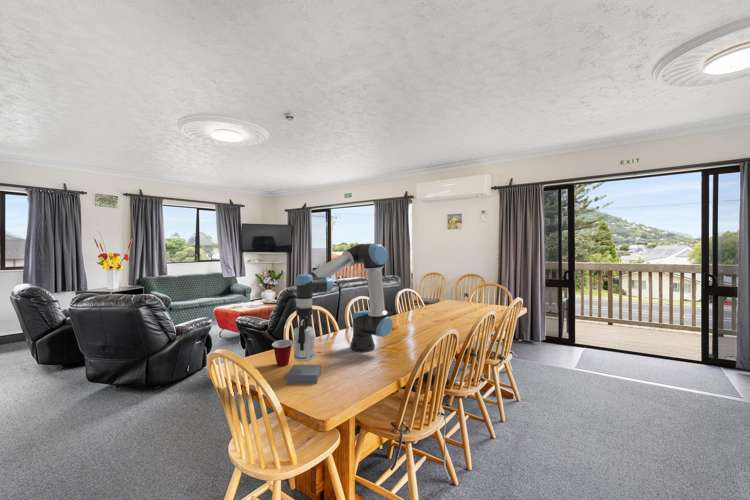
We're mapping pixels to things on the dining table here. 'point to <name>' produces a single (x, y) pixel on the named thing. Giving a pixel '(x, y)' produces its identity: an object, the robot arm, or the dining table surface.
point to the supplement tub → (308, 344)
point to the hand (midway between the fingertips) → (304, 353)
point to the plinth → (303, 374)
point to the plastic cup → (282, 351)
